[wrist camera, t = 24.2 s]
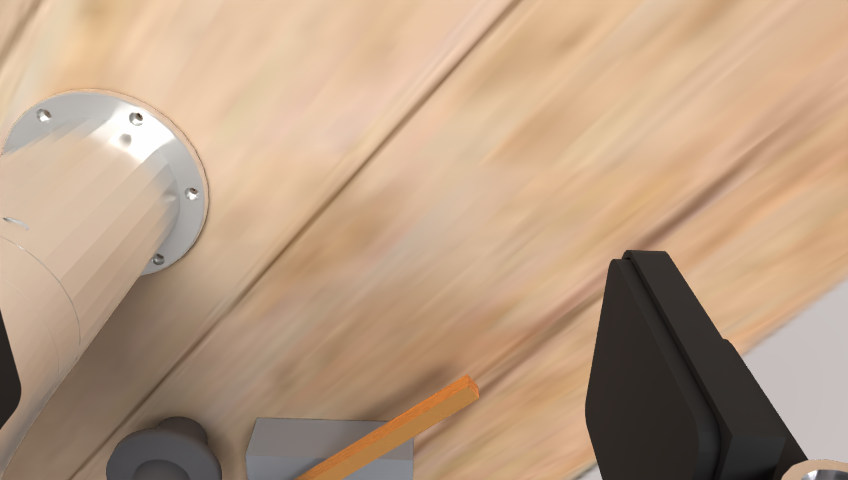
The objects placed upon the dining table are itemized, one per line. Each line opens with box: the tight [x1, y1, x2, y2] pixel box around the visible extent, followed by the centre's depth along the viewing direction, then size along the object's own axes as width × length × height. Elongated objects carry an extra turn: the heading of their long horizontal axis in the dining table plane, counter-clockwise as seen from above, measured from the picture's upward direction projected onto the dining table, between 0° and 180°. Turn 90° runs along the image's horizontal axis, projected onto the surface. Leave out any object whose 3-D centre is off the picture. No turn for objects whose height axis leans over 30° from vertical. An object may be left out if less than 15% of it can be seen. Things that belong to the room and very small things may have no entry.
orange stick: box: [294, 375, 479, 480], centre depth 49 cm, size 20×2×2 cm, turn 128°
